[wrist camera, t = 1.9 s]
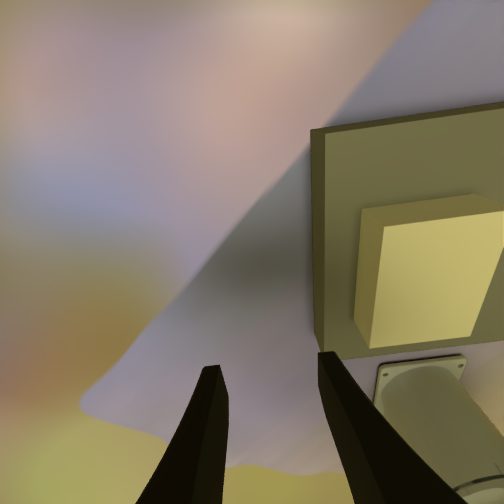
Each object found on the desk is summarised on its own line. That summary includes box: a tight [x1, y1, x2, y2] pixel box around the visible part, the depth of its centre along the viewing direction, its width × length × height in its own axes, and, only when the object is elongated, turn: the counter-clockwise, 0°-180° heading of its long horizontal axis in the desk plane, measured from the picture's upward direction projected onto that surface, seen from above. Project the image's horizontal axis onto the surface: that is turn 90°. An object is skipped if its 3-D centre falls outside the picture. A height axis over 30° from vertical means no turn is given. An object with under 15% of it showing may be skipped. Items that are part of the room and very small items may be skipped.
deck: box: [310, 102, 504, 360], centre depth 17 cm, size 16×14×3 cm
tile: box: [354, 194, 504, 349], centre depth 15 cm, size 8×6×2 cm
